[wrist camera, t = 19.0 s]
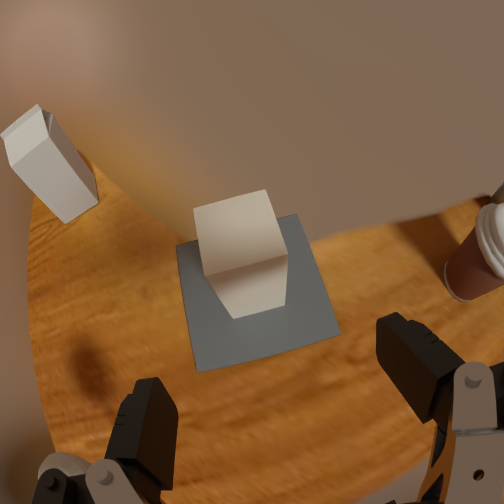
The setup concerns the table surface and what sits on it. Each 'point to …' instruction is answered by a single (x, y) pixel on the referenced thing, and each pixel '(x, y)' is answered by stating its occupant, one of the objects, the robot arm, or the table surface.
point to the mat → (262, 323)
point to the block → (243, 253)
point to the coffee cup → (478, 257)
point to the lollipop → (65, 464)
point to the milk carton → (50, 164)
